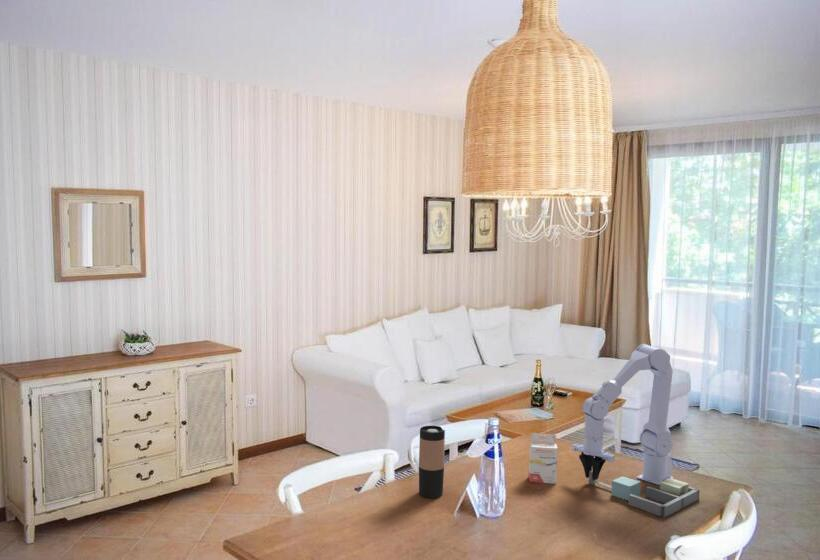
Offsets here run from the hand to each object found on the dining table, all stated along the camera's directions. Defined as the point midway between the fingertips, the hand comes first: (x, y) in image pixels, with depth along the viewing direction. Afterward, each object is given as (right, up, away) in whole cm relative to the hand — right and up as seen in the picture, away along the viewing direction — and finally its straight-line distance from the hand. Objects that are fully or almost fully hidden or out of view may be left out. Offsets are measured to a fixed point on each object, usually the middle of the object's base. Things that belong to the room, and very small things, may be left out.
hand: (591, 478), depth 212 cm
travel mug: (-52, -2, -11) cm, 53 cm away
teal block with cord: (+5, -2, -5) cm, 7 cm away
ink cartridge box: (-15, -2, +2) cm, 16 cm away
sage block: (+22, -3, -10) cm, 25 cm away
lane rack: (+18, -3, -13) cm, 23 cm away
